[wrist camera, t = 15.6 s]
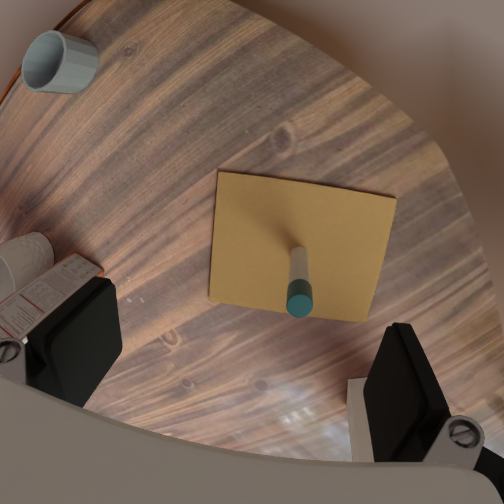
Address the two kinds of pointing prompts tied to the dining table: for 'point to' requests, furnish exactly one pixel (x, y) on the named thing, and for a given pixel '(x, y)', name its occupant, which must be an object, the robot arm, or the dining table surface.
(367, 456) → the milk
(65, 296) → the cracker box
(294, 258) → the marker
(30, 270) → the white cup
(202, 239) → the dining table surface
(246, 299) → the cork mat
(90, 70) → the pen pot
